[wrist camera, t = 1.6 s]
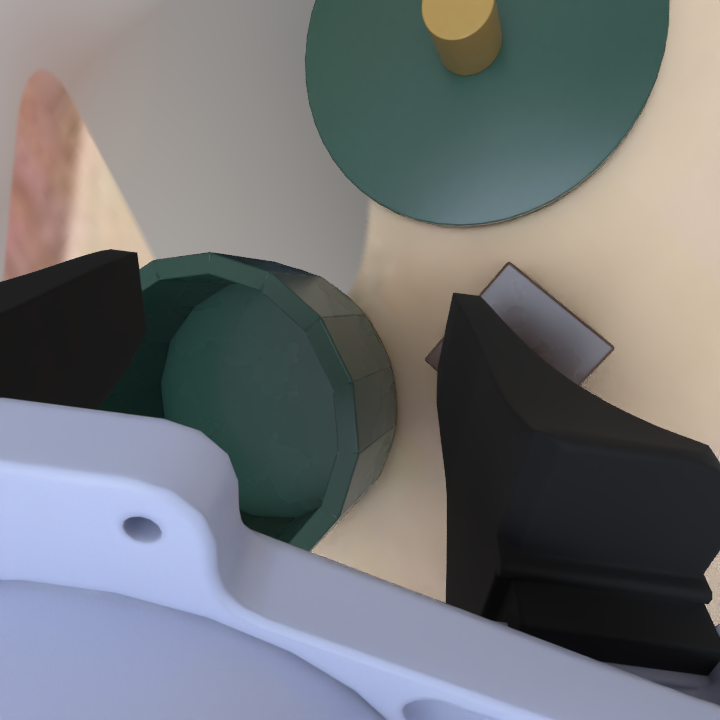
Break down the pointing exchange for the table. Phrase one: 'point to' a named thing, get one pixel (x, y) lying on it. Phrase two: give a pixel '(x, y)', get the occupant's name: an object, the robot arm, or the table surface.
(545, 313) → the block
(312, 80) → the lid
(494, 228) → the table surface
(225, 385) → the tin
